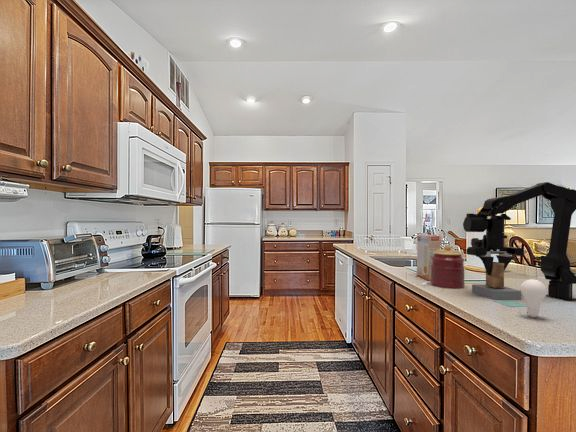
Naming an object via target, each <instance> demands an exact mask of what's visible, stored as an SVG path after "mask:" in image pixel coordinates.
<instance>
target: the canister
mask: <svg viewBox="0 0 576 432" xmlns="http://www.w3.org/2000/svg"><path fill="white" fill-rule="evenodd" d="M433 253H434V256H432V257H431V259H432V265H431V281H430V285H431V286H433V287H436V288H442V289H453V290H455V289H456V290H457V289H464V288H465V285H466V284H465V269H466V268H465V265H464V262H465V260H466V259H465V258H463V253H462V252H461V251H460V250H457V249H456V250H455V249H452V246H451V245H449V244H445V245H444V246H443V249H442V248H441V249H438V250H436V251H434V252H433Z"/></svg>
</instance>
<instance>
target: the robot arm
mask: <svg viewBox="0 0 576 432" xmlns="http://www.w3.org/2000/svg"><path fill="white" fill-rule="evenodd" d="M540 196H542V198H544V199H546V200H547V201H550V208H551V209H552V212H553V220H552V228H551V235H550V241H549V248H548V249H549V250H548V252H547V253H546V255H540V263H539V264H538V266H539V267H540V271H541V272H542V273H543V277H544V278H545V280H549V281H548V285H547V288H548V289H547V290H548V291H547V293H548V294H546V296H545V297H550V298H554V299H558V300H561V301H576V298H575V297H573V285H576V274H575V273H574V272H573V271H572V270H571V261H570V259H569V257H568V255H567V251H568V245H569V237H570V230H571V223H572V216H573V214H575V213H574V212H575V211H576V189H573V188H571V189H570V188H568V187H564V186H561V185H557V184H554V183H551V182H550V181H549V182H539V183H537V184H534V185H532V186H530V187H527V188H523V189H521V190H519V191H517V192H513V193H511V194H508V195H504V196H498V197H492V198H487V199H486V200H484V203H483V206H482V208H480V210H479V211H478V212H477V213H466V215H465V216H466V217H464V220H463V223H462V227H463V229H464V231H465V232H466V233H468V232H469V233H483V232H485V234H483V235H482V239H479V238H478V237H474V238H471V240H470V245H471V246H467V249H466V255H469V256H476V257H477V258H479V259H480V260H481V261H482V264H483V266H484V269H485V273H486V272H487V274H488V275H491V272H492V266H493V262H494V260H495V259H494V258H495V257H494V256H492V255H495V256H496V258H497V262H499V263H504V272H505V270H506V268H507V267H508V265H510V263H511V261H512V260H513V259H515V256H516V257H524V256H525V250H524V248H522V247H516V246H505V239H508V235H505V221H511V219H512V218H511V217H510V216H509V215H507V214H506V212H507V211H510V210H511V209H512V208H514V207H515V206H516V205H518V204H521V203H523V202H526V201H529V200H533V199H535V198H537V197H540ZM499 214H500V215H499ZM488 217H490V218H488ZM512 255H514V256H512Z"/></svg>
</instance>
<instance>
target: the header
mask: <svg viewBox="0 0 576 432" xmlns="http://www.w3.org/2000/svg"><path fill="white" fill-rule="evenodd" d="M471 293H472V294H475V295H478V296H480V297H481V296H482V297H485V298H487V299H489V300H493V301H521V300H522V293H521V290H518V289H514V288H511V287H508V286H504V287H495V288H494V287H490V286H487V285H486V283H485V284H481V283H480V284H479V283H478V284H477V283H476V284H475V283H473V284H471Z"/></svg>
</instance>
